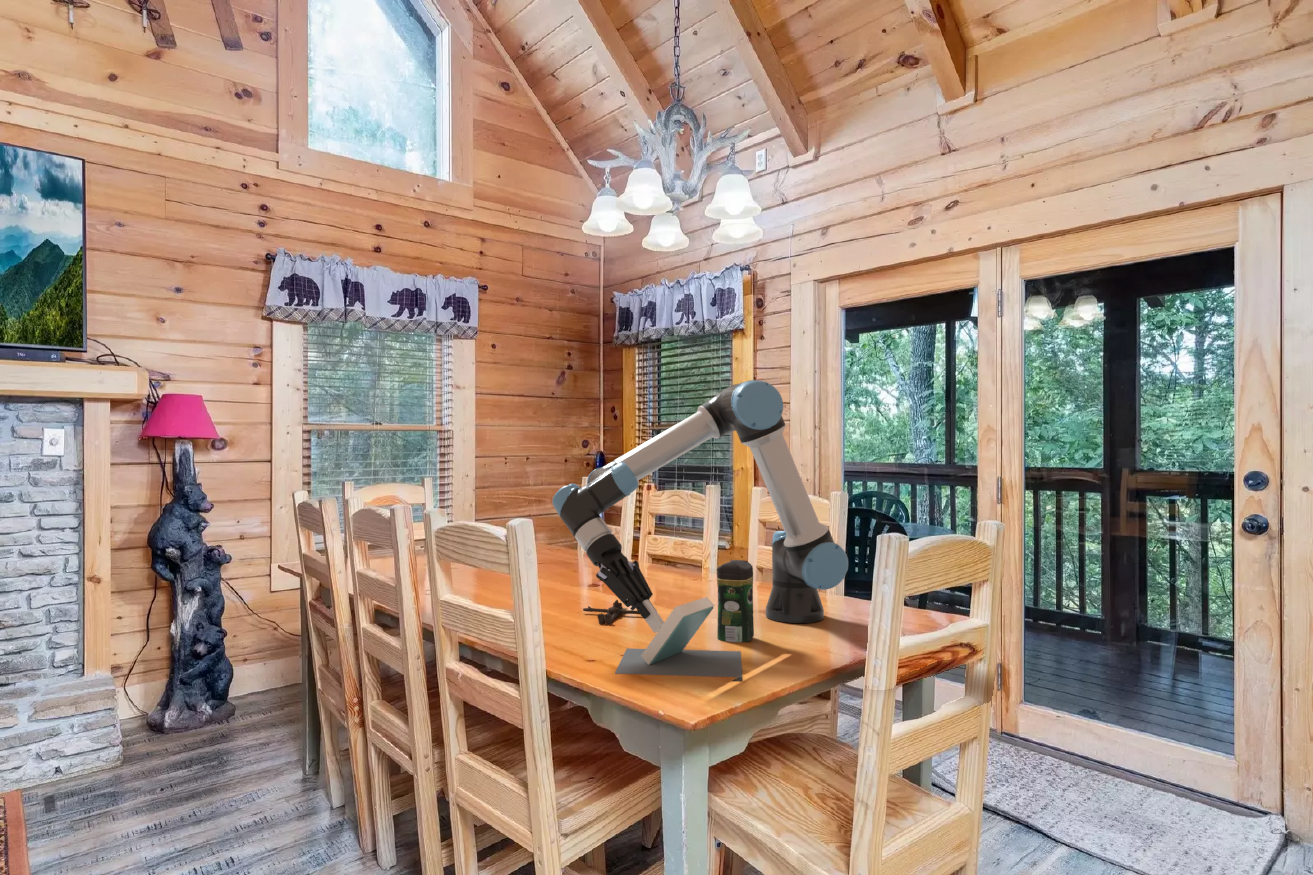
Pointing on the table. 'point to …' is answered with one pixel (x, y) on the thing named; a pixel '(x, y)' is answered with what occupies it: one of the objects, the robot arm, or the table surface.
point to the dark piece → (610, 612)
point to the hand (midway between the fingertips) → (659, 628)
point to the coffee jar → (735, 601)
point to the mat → (685, 664)
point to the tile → (677, 630)
